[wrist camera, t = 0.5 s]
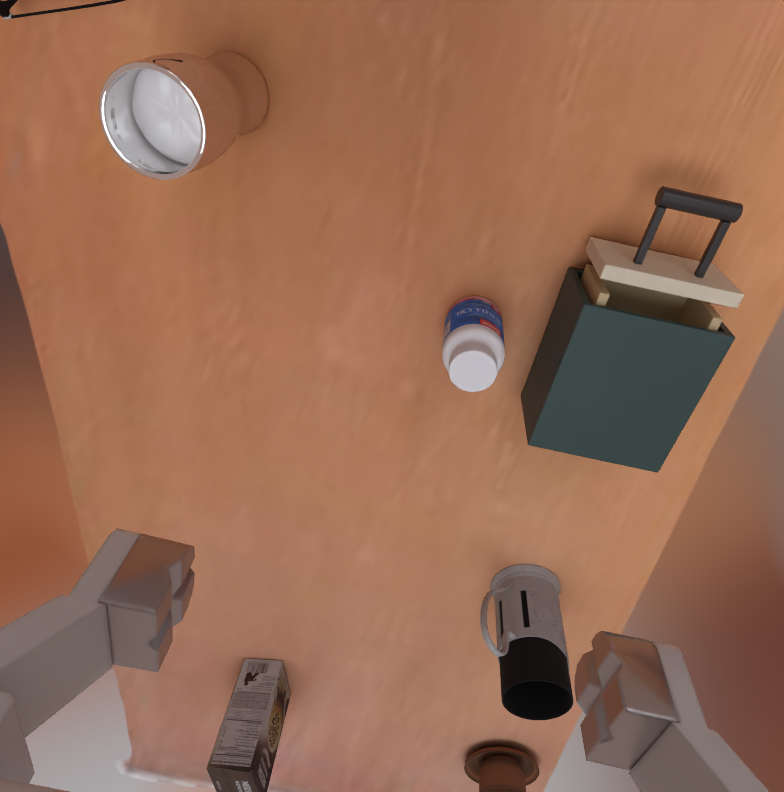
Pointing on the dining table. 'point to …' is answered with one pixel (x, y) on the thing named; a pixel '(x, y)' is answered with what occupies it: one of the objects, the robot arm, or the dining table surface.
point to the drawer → (665, 268)
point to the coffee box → (251, 728)
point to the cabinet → (616, 380)
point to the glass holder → (529, 642)
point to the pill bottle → (473, 343)
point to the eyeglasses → (4, 6)
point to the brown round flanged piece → (501, 769)
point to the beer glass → (180, 110)
